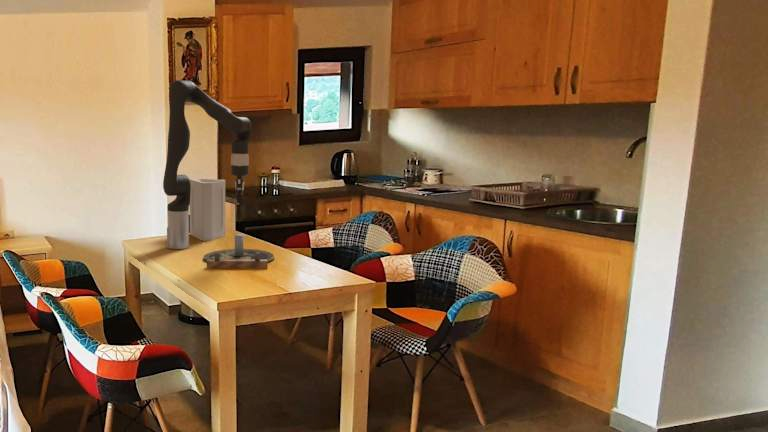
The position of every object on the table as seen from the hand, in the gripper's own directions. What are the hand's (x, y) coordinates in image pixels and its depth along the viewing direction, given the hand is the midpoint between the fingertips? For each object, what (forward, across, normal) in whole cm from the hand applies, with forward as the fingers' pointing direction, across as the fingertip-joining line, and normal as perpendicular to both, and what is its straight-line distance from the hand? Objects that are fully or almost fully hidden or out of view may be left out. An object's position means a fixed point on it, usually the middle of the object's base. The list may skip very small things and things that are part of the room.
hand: (239, 201), depth 296 cm
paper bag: (+24, -46, -16) cm, 54 cm away
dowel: (+23, +5, 0) cm, 23 cm away
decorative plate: (+25, +6, 0) cm, 25 cm away
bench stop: (+24, +22, 0) cm, 33 cm away
